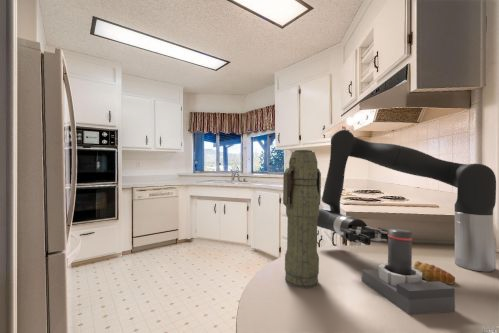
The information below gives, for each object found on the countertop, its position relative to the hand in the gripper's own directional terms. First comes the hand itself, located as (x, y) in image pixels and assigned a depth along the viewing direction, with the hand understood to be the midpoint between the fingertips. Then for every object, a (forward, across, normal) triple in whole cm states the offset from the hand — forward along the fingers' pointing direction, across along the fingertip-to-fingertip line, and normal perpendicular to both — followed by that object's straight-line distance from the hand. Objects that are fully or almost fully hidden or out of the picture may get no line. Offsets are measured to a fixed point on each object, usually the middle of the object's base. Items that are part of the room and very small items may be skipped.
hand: (383, 241), depth 66 cm
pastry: (-1, +16, +12) cm, 20 cm away
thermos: (-3, -22, +11) cm, 25 cm away
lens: (+6, 0, +8) cm, 10 cm away
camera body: (+7, 0, +11) cm, 13 cm away
